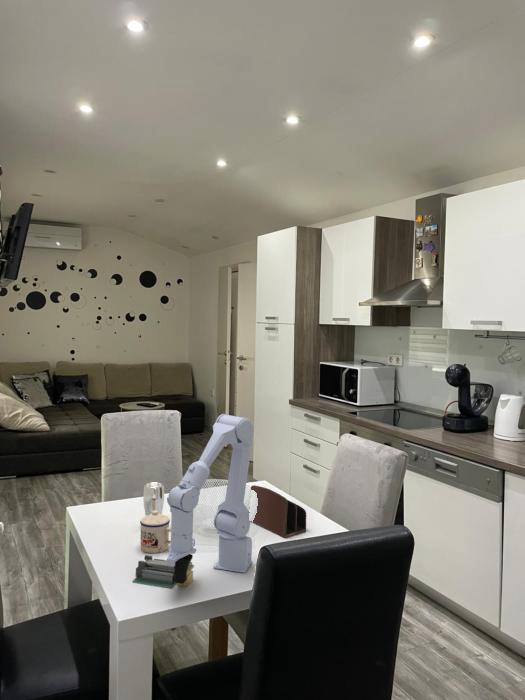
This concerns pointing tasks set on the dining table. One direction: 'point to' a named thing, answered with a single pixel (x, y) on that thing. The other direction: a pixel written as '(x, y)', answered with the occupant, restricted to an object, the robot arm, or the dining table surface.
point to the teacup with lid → (155, 532)
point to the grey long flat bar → (161, 564)
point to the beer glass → (153, 497)
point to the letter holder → (278, 513)
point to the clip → (188, 577)
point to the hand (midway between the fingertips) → (180, 581)
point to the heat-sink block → (157, 576)
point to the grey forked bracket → (142, 566)
